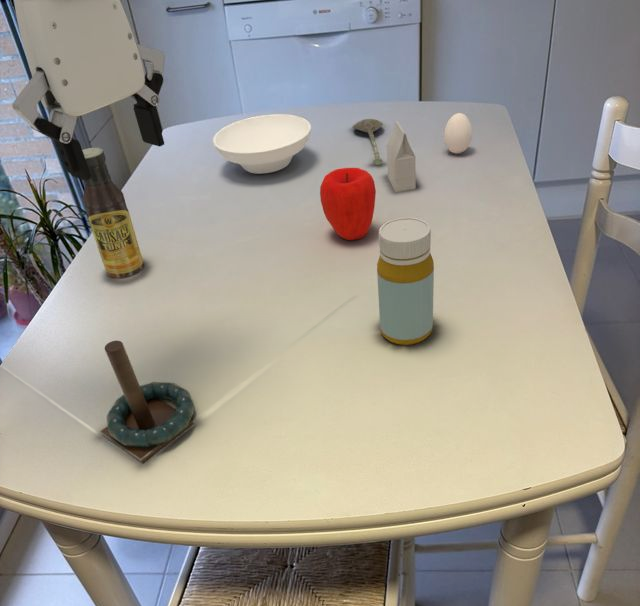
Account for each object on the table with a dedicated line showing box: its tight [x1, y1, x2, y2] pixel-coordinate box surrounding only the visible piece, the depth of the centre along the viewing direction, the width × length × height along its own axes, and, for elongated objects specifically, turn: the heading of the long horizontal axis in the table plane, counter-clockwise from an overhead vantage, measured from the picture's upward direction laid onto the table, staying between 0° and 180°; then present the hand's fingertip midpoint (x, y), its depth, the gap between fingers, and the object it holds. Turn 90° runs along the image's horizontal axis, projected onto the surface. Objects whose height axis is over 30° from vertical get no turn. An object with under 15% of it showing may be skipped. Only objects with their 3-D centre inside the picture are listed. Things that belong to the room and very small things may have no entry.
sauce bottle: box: [82, 147, 144, 279], centre depth 100 cm, size 6×6×20 cm
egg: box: [443, 112, 473, 155], centre depth 124 cm, size 5×5×7 cm
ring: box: [106, 381, 196, 447], centre depth 78 cm, size 10×10×2 cm
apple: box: [319, 167, 377, 241], centre depth 104 cm, size 9×9×11 cm
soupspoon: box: [352, 118, 384, 166], centre depth 133 cm, size 22×3×7 cm
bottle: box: [376, 216, 435, 346], centre depth 82 cm, size 7×7×15 cm
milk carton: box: [386, 120, 417, 193], centre depth 116 cm, size 4×7×10 cm, turn 8°
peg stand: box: [100, 340, 195, 464], centre depth 74 cm, size 8×8×13 cm
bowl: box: [212, 113, 312, 174], centre depth 130 cm, size 20×20×7 cm
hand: (119, 160), depth 70 cm, fingers open, 9 cm apart
